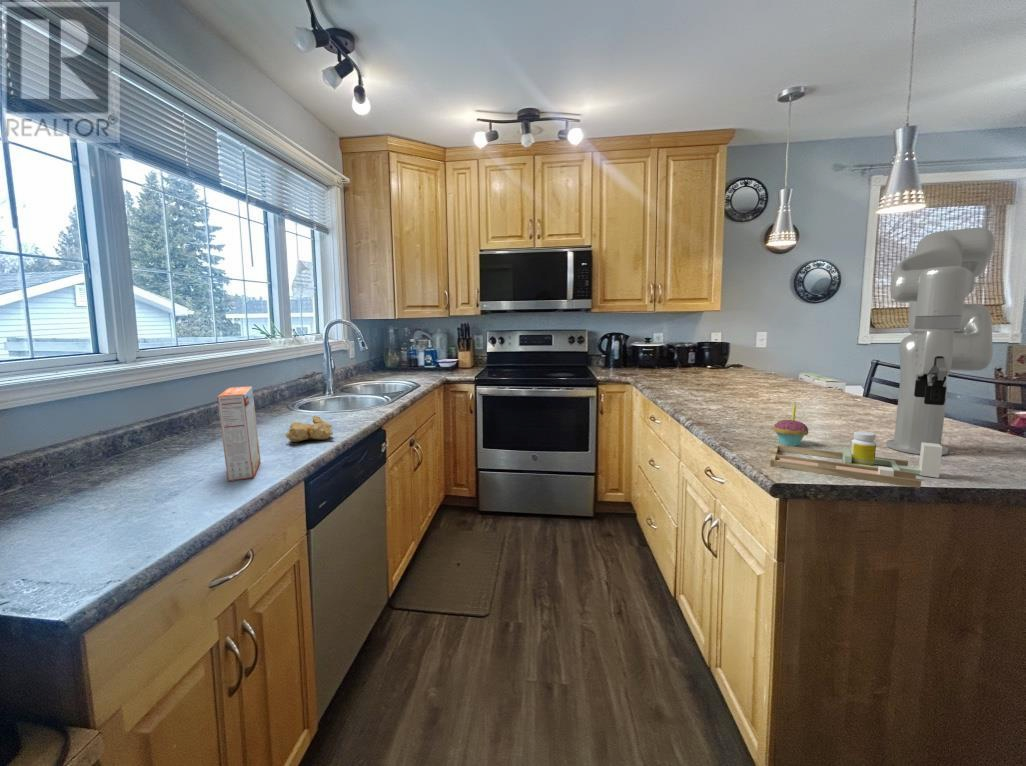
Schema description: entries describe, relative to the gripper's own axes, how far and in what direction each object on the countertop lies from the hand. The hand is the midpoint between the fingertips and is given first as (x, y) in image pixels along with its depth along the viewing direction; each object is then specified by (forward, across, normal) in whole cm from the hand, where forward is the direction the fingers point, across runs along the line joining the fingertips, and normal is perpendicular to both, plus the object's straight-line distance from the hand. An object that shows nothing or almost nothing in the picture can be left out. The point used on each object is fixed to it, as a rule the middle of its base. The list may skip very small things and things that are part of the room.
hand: (928, 400), depth 101 cm
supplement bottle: (+17, 0, -11) cm, 20 cm away
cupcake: (+18, -14, -26) cm, 34 cm away
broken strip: (+17, +8, -17) cm, 25 cm away
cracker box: (+16, +79, -142) cm, 163 cm away
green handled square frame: (+17, 0, -6) cm, 18 cm away
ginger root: (+17, +52, -156) cm, 165 cm away
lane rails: (+17, +3, -16) cm, 23 cm away
